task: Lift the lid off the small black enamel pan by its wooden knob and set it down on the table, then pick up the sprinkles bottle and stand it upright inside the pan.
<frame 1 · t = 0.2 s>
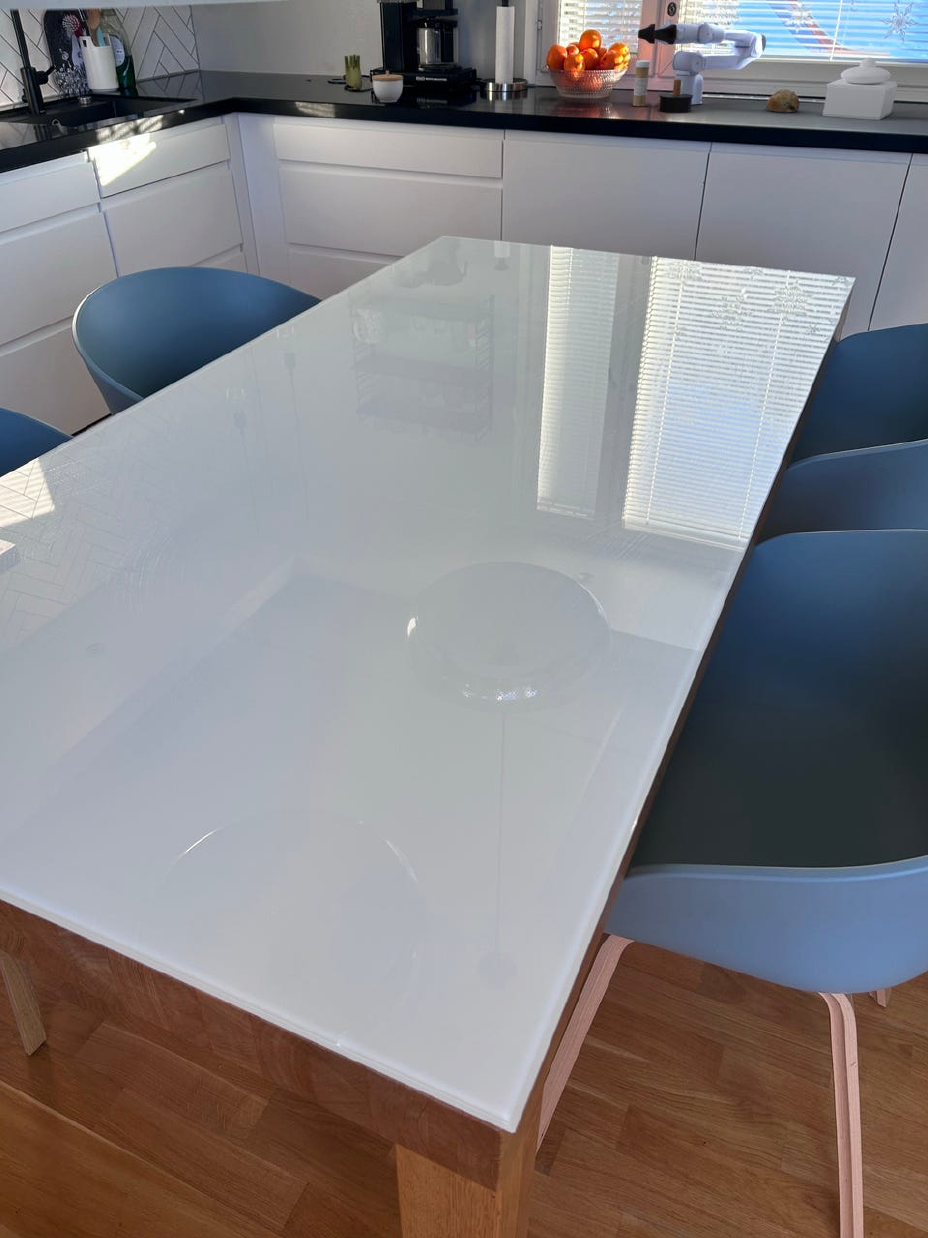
hand: (646, 34, 306), 21 cm above the table, tool horizontal, fingers open, 7 cm apart
pan: (674, 110, 313), on the table
bread roll: (780, 111, 312), on the table
white lidded box: (856, 115, 304), on the table
fennel bulb: (354, 91, 362), on the table
pan lid: (676, 96, 311), point 4 cm above the table, touching pan
sprinkles bottle: (639, 106, 323), on the table
sugar bowl: (388, 101, 336), on the table
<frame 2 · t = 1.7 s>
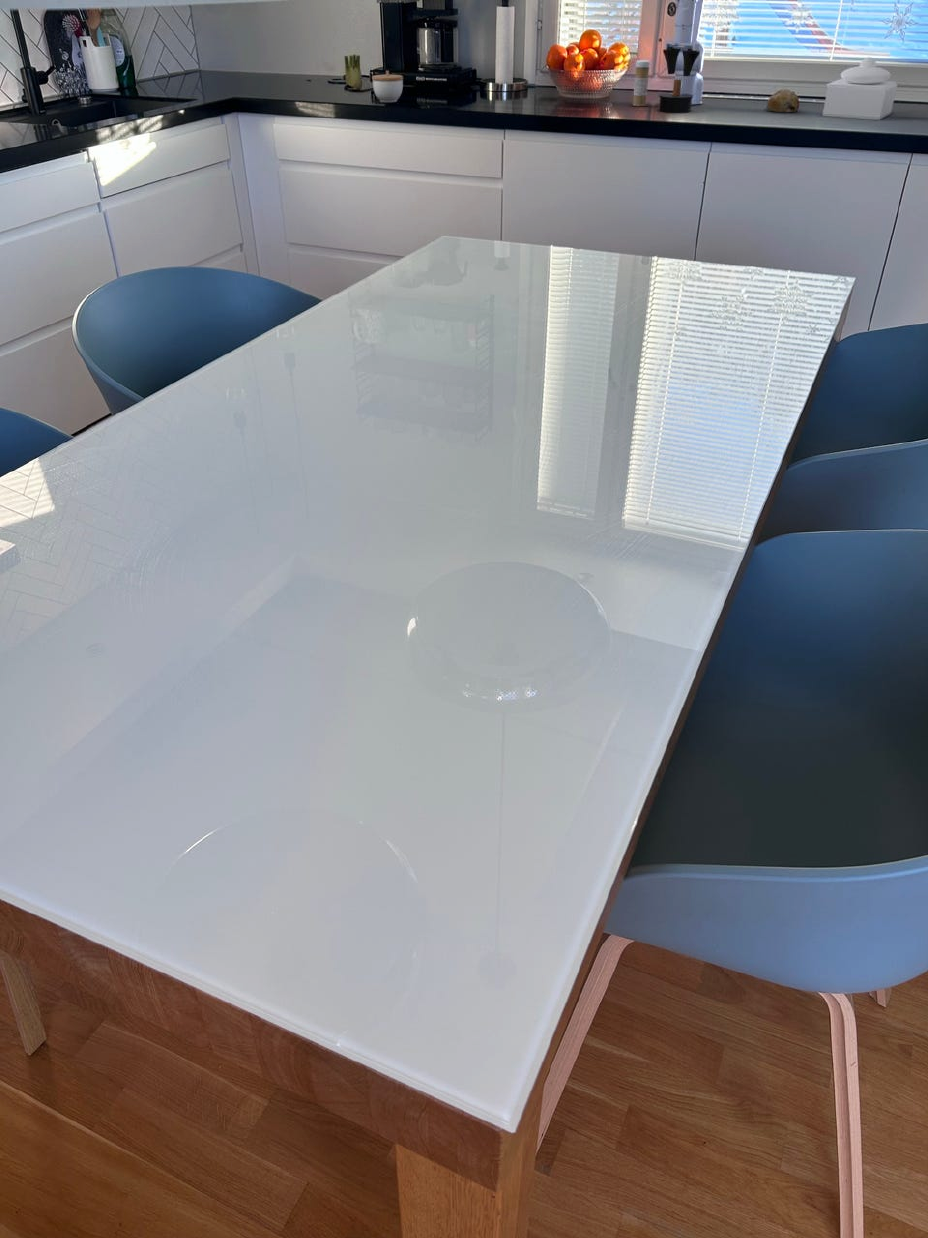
hand: (678, 74, 307), 10 cm above the table, tool pointing down, fingers open, 7 cm apart
nothing on the table moved.
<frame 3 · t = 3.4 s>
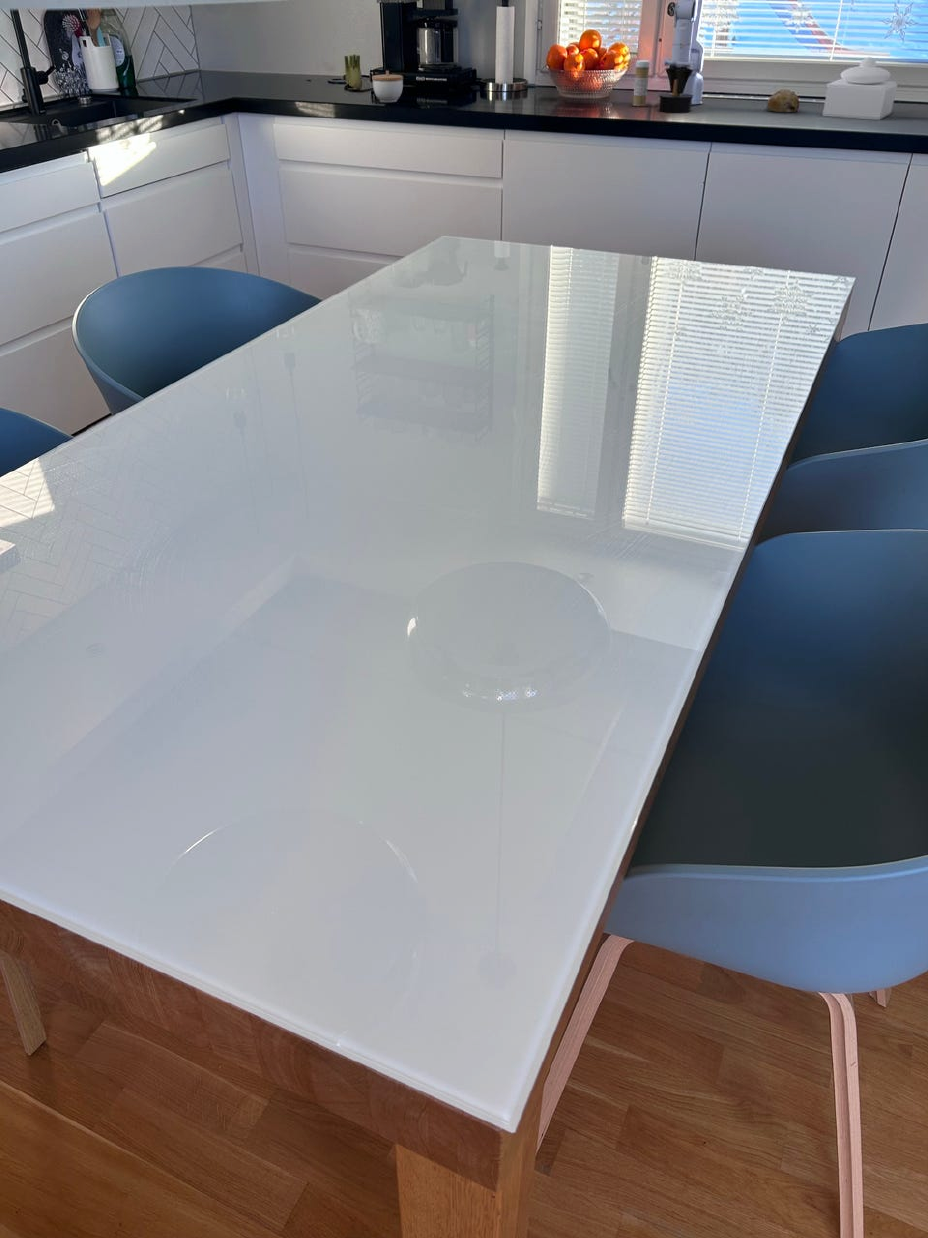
hand: (676, 92, 310), 5 cm above the table, tool pointing down, fingers closed on pan lid, 2 cm apart
pan lid: (676, 96, 311), point 4 cm above the table, touching gripper, pan
everything else where it was.
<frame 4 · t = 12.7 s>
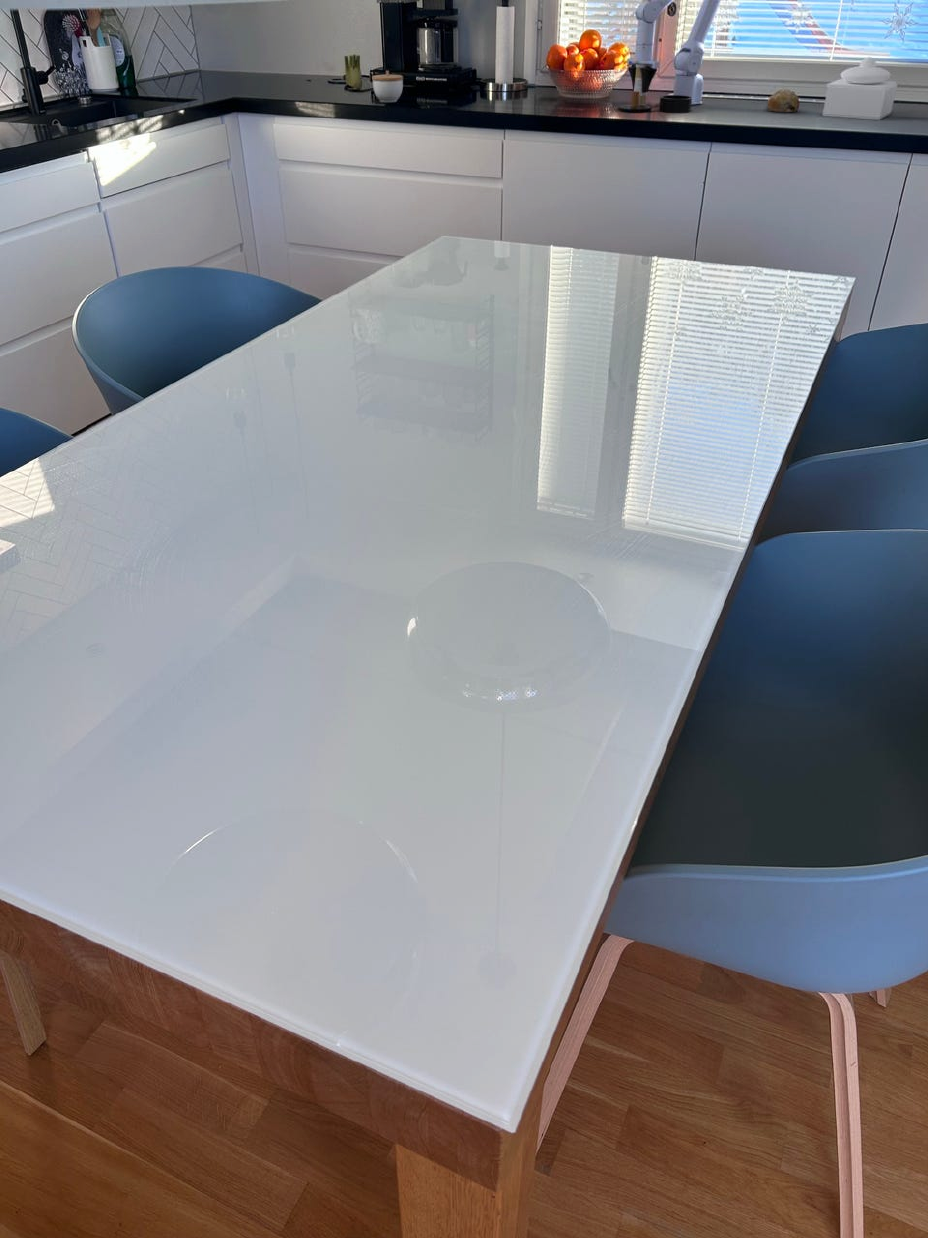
hand: (640, 91, 320), 4 cm above the table, tool pointing down, fingers closed on sprinkles bottle, 4 cm apart
pan lid: (634, 108, 313), point 1 cm above the table
sprinkles bottle: (639, 106, 323), on the table, touching gripper
everything else where it was.
when the fingers open (5 cm above the table, at t = 17.1 s): sprinkles bottle stays where it is, resting on pan.
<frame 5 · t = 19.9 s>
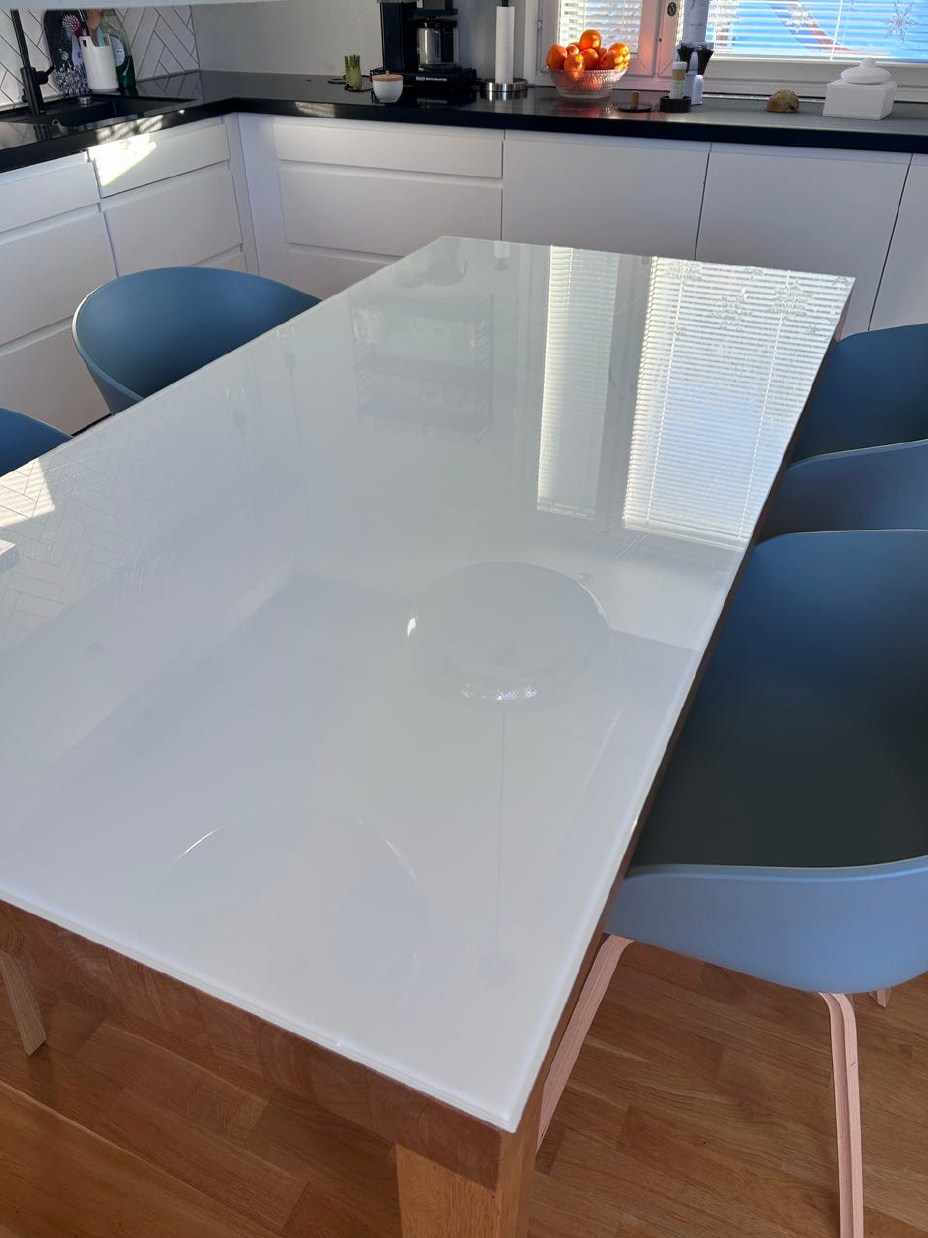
hand: (692, 73, 308), 10 cm above the table, tool pointing down, fingers open, 7 cm apart
sprinkles bottle: (674, 109, 313), resting on pan
everything else where it was.
at the end: pan lid inside the target area (0.0 cm from its centre), point 0.6 cm above the table; sprinkles bottle 0.1 cm off-centre in the pan, point 0.3 cm above the pan's base; sprinkles bottle tilted 0° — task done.
